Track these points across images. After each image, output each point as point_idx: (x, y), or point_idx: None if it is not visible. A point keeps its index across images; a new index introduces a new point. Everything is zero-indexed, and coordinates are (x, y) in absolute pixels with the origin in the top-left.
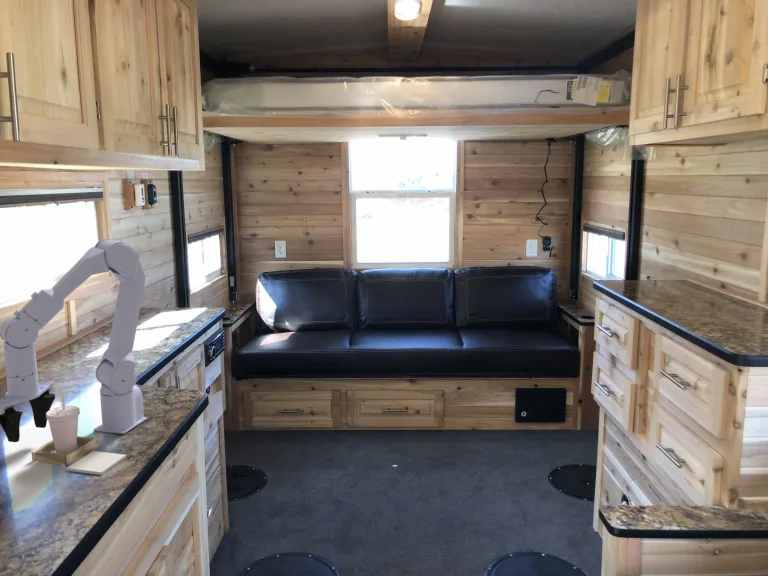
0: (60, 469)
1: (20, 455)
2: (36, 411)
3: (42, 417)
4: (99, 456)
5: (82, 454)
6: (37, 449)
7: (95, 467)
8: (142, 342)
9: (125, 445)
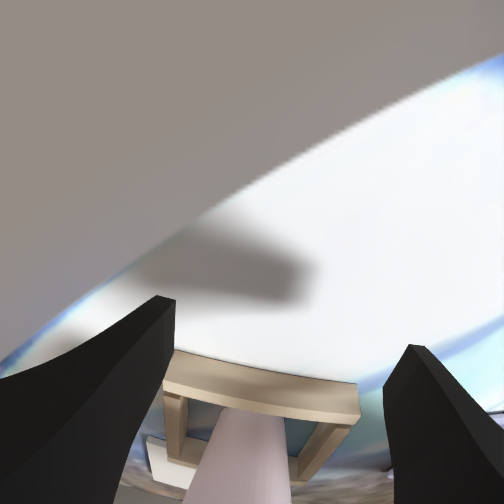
0: (150, 424)
1: (221, 280)
2: (441, 446)
3: (401, 441)
4: None
5: None
6: (190, 391)
7: (169, 475)
8: None
9: (312, 487)
